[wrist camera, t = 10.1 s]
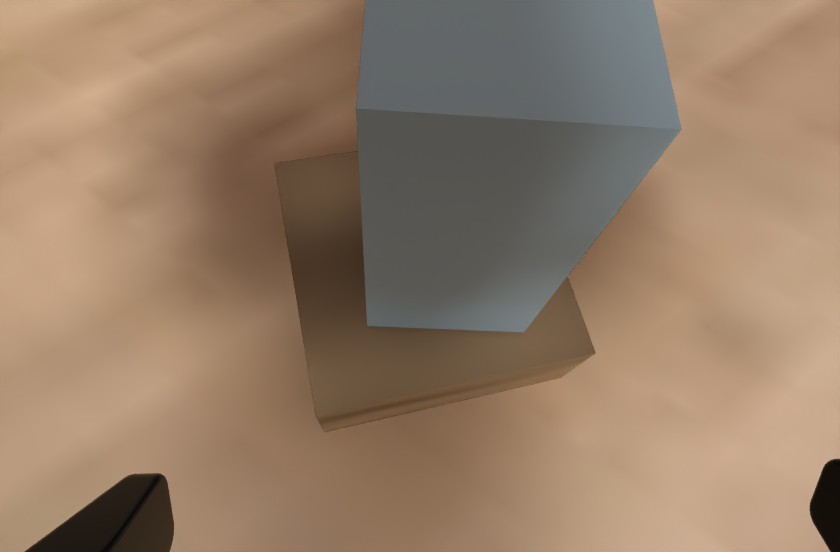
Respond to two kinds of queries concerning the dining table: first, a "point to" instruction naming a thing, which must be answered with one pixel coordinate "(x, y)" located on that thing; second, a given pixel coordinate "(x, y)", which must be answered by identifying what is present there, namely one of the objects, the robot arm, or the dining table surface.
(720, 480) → the dining table surface
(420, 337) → the walnut block
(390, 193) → the blue block
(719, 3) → the dining table surface
